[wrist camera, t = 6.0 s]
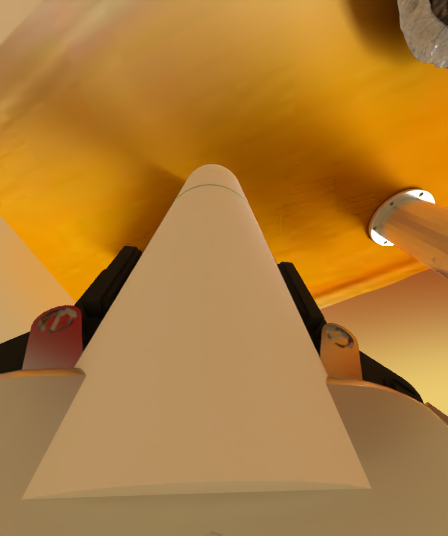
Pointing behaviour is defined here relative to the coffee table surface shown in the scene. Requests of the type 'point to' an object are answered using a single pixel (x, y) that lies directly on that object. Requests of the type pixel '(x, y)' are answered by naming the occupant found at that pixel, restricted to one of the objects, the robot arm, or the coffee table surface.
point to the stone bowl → (426, 29)
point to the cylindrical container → (201, 372)
